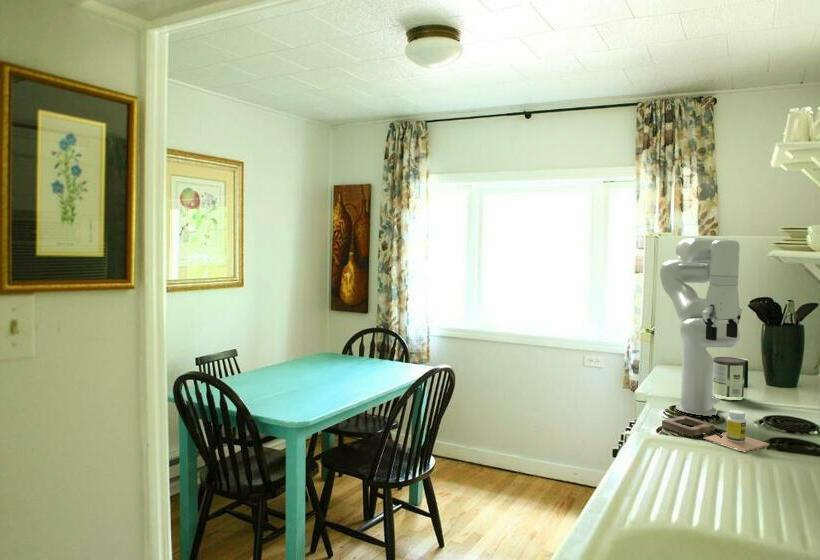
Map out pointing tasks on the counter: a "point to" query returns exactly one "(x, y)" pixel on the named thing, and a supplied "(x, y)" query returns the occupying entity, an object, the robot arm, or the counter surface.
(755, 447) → the terracotta coaster
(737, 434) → the supplement bottle
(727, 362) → the coffee can
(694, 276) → the robot arm
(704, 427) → the walnut cup holder
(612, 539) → the counter surface
